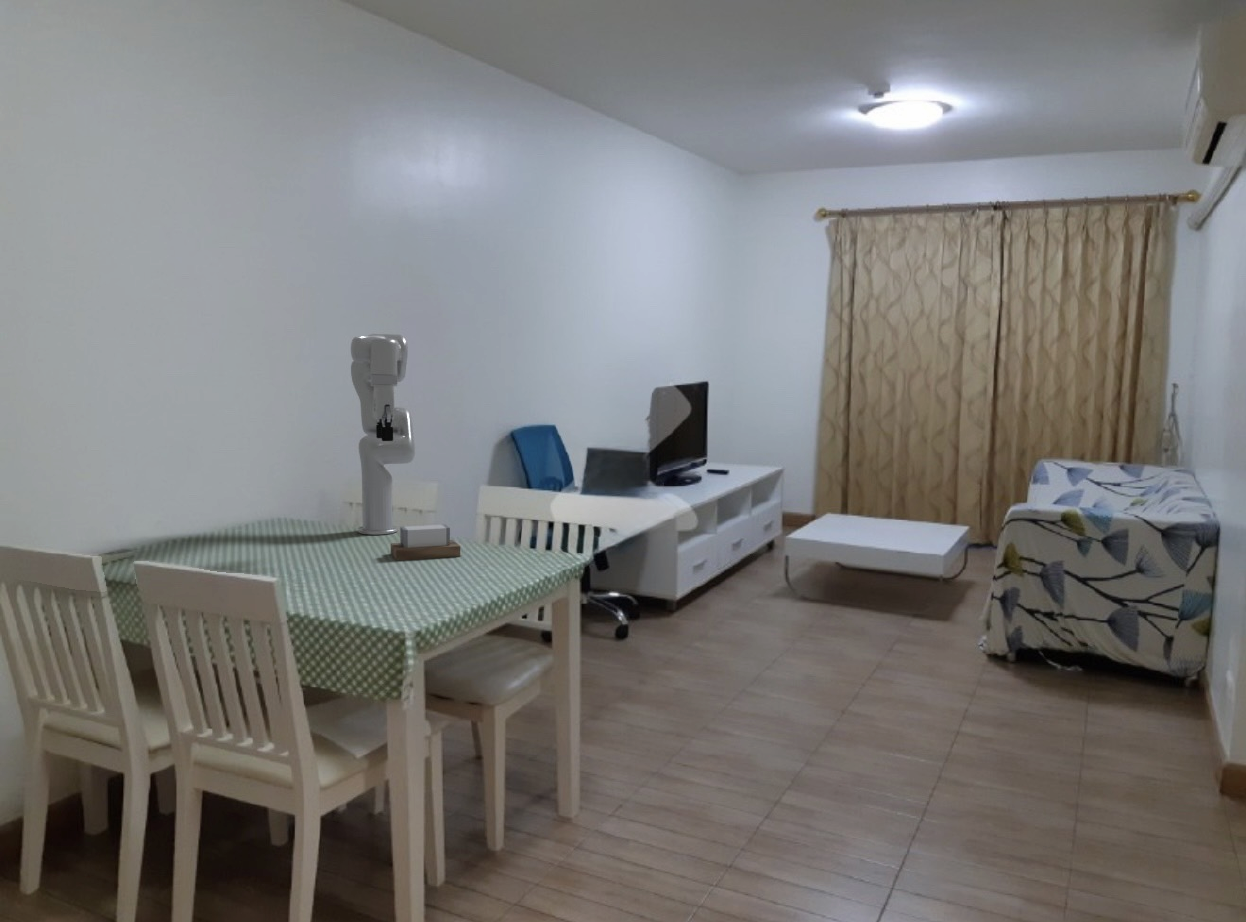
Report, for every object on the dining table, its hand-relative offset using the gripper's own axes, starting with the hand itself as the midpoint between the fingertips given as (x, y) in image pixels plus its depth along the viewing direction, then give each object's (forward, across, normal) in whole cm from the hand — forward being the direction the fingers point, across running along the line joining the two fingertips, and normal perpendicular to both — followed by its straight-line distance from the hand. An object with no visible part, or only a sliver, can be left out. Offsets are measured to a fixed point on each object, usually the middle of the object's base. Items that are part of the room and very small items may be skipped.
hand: (384, 439), depth 282 cm
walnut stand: (+32, +14, +9) cm, 36 cm away
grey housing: (+29, +14, +9) cm, 34 cm away
